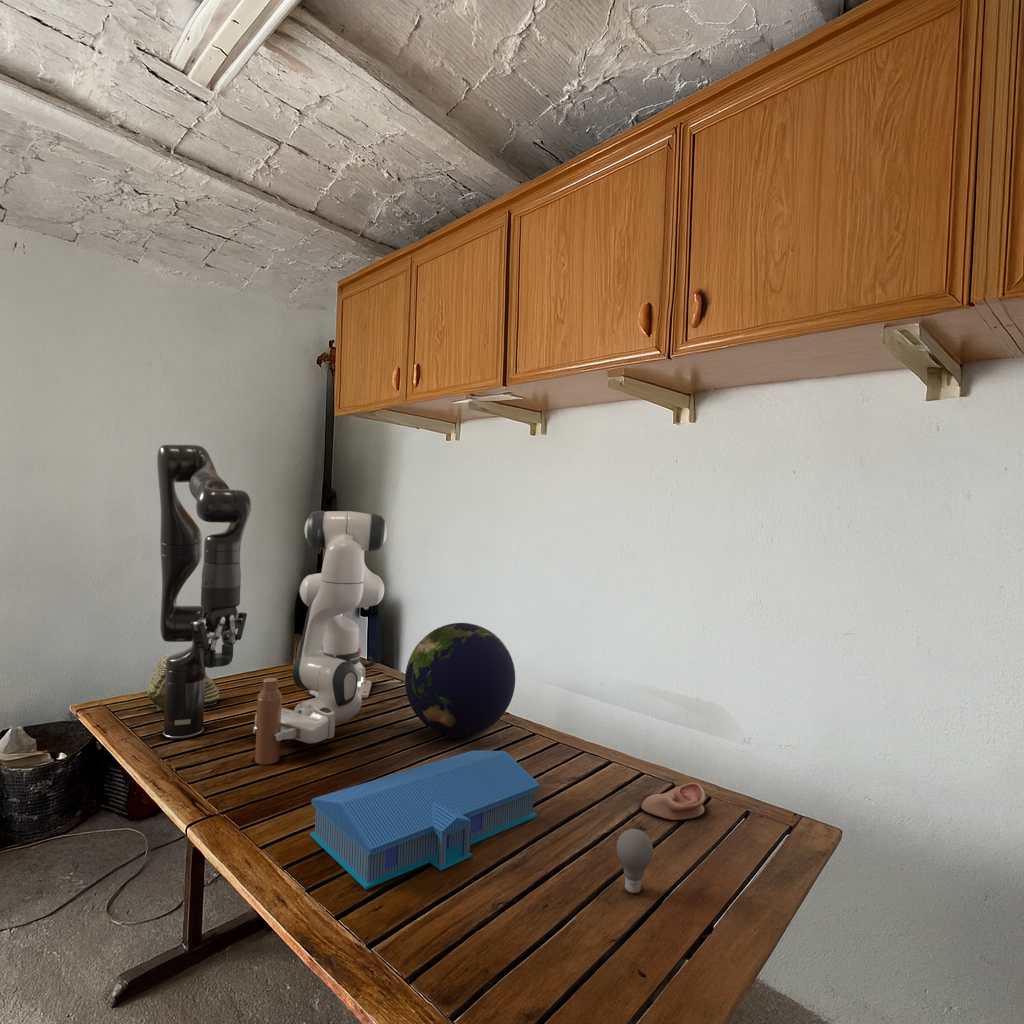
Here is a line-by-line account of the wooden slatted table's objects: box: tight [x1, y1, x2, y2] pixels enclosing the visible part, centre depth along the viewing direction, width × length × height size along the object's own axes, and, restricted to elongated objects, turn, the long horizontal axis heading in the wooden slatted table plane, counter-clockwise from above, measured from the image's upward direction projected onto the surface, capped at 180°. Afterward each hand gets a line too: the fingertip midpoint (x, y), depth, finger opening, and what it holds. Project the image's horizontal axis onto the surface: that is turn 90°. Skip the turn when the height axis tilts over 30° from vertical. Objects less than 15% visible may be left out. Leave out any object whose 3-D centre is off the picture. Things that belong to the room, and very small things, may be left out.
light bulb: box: [615, 828, 654, 894], centre depth 106 cm, size 6×6×10 cm
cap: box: [214, 652, 231, 668], centre depth 134 cm, size 4×4×2 cm
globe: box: [404, 622, 516, 738], centre depth 173 cm, size 30×30×30 cm
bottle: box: [254, 677, 283, 766], centre depth 151 cm, size 6×6×19 cm
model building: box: [309, 750, 541, 890], centre depth 123 cm, size 39×24×10 cm, turn 132°
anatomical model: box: [640, 782, 706, 821], centre depth 135 cm, size 13×4×12 cm
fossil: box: [147, 654, 221, 712], centre depth 185 cm, size 9×18×15 cm, turn 132°
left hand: (218, 664), depth 134 cm, fingers closed on cap, 4 cm apart
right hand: (265, 734), depth 150 cm, fingers closed on bottle, 5 cm apart
